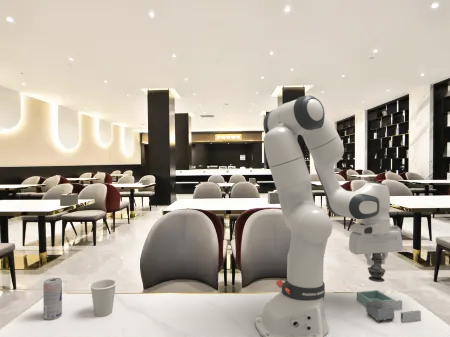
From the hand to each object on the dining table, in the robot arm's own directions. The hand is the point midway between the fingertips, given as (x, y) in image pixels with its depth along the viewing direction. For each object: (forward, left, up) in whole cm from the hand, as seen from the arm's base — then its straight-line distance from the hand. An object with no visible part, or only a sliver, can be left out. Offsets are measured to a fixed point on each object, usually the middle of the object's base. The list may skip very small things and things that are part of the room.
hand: (376, 264), depth 114 cm
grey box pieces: (-1, -9, -15) cm, 17 cm away
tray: (0, 0, -15) cm, 15 cm away
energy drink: (-112, +16, -15) cm, 114 cm away
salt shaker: (0, 0, -6) cm, 6 cm away
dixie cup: (-96, +15, -15) cm, 98 cm away
